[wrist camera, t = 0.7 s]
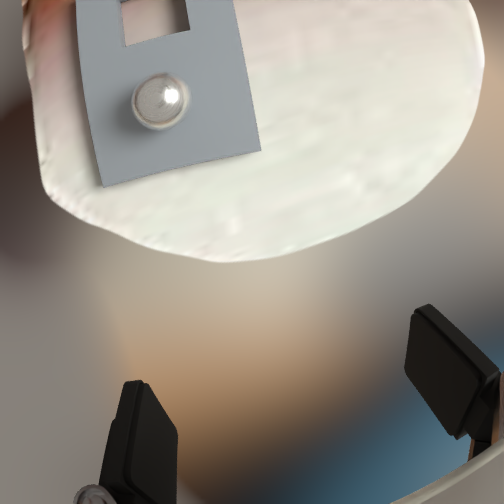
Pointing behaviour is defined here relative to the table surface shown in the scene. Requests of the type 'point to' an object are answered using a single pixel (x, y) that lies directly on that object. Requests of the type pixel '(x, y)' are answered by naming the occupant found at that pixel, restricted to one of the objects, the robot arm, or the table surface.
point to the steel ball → (161, 101)
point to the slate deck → (165, 60)
